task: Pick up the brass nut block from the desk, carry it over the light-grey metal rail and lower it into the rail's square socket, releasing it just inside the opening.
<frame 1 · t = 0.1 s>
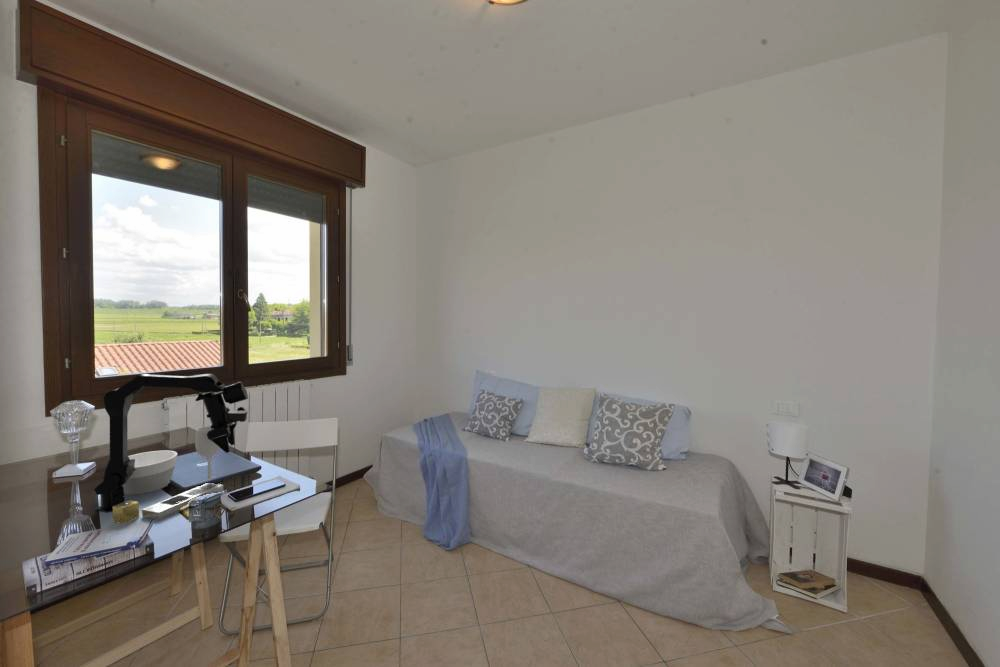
hand: (230, 448, 156), 15 cm above the table, tool pointing down, fingers open, 9 cm apart
nut block: (126, 519, 135), on the table
rail: (185, 503, 146), on the table
wineglass: (210, 482, 164), on the table
bowl: (146, 487, 160), on the table
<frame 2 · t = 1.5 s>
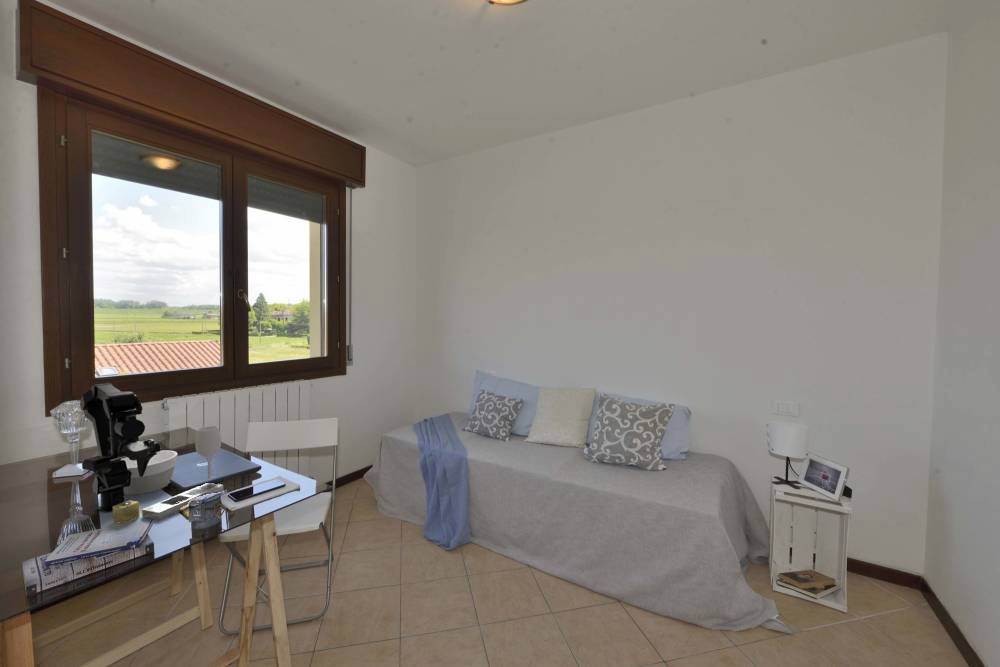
hand: (125, 482, 135), 12 cm above the table, tool pointing down, fingers open, 9 cm apart
nothing on the table moved.
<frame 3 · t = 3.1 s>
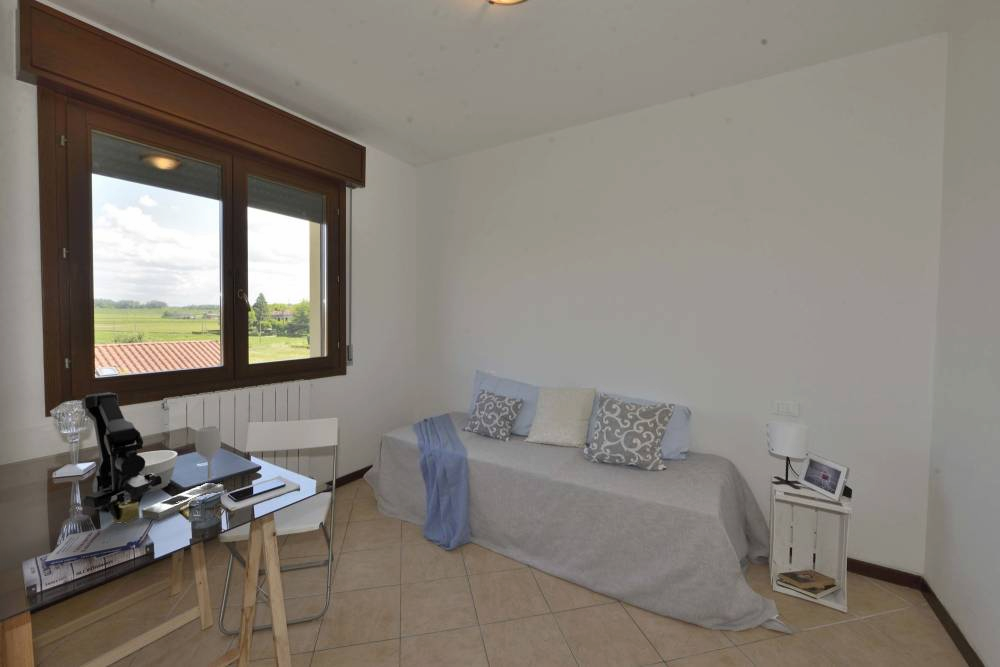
hand: (126, 516, 135), 1 cm above the table, tool pointing down, fingers closed on nut block, 4 cm apart
nut block: (126, 519, 135), on the table, touching gripper
everything else where it was.
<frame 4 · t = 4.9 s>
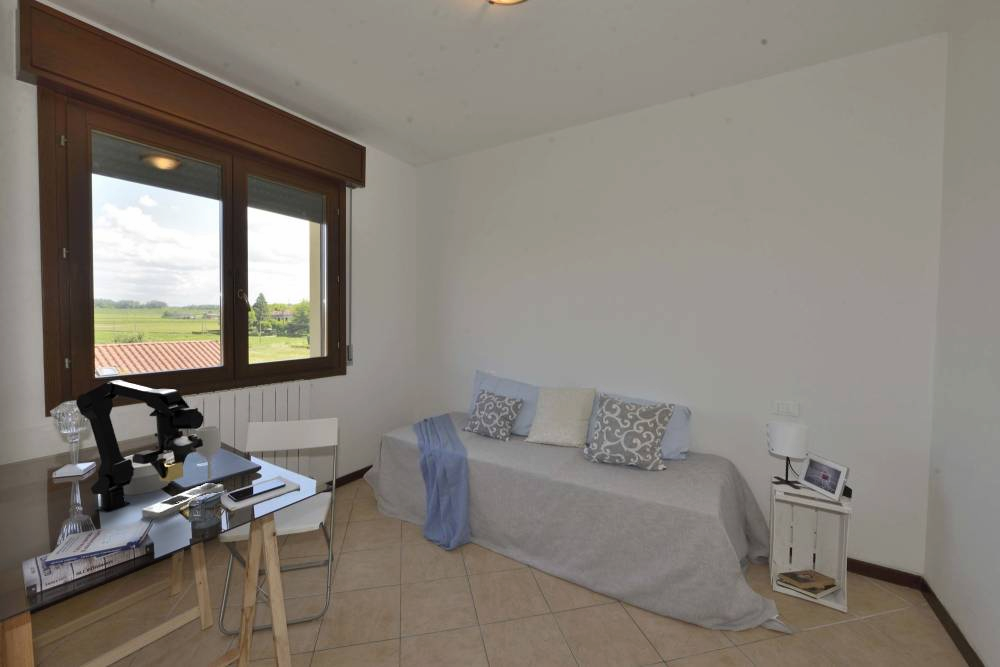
hand: (171, 475, 142), 11 cm above the table, tool pointing down, fingers closed on nut block, 4 cm apart
nut block: (171, 478, 142), point 10 cm above the table, touching gripper
everything else where it was.
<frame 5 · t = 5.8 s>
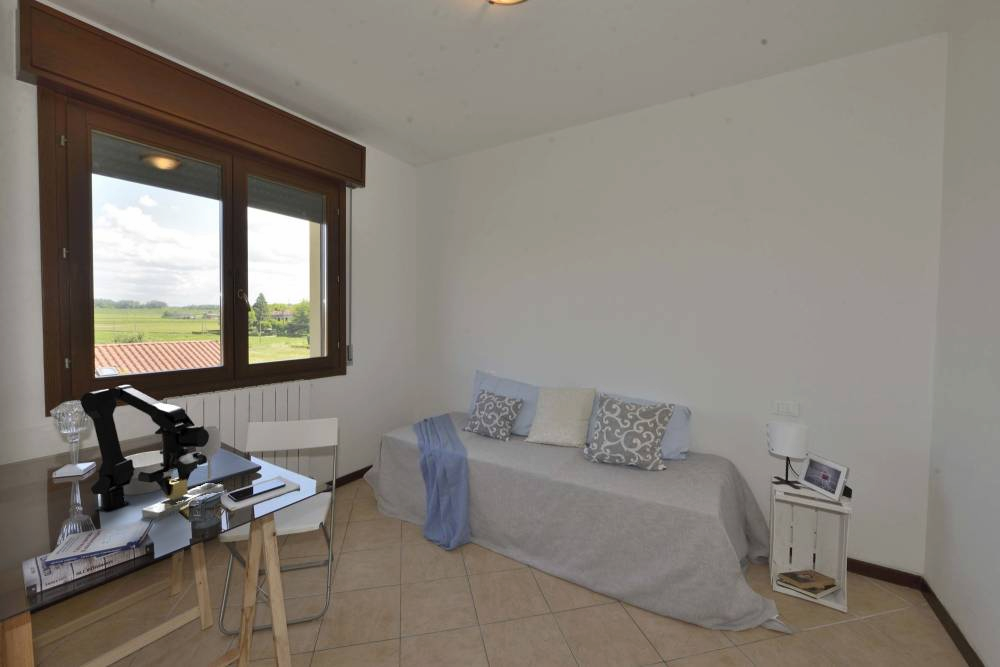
hand: (175, 492, 143), 5 cm above the table, tool pointing down, fingers closed on nut block, 4 cm apart
nut block: (176, 495, 143), point 4 cm above the table, touching gripper
everything else where it was.
when the fingers open (3 cm above the table, at t = 6.5 s): nut block drops 2 cm, resting in rail.
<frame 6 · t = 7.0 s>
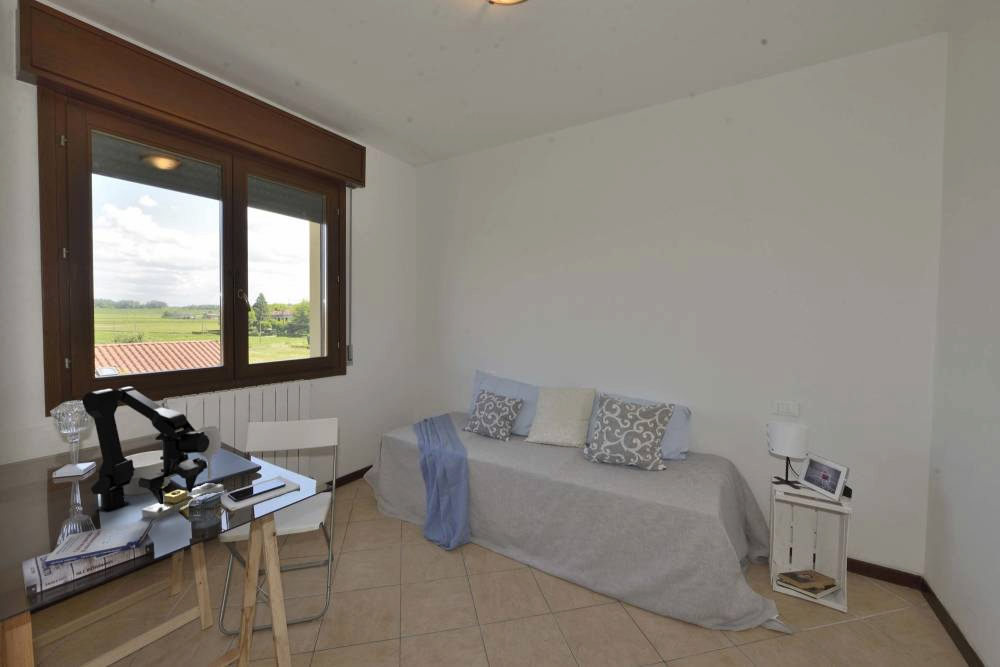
hand: (176, 498, 143), 3 cm above the table, tool pointing down, fingers open, 9 cm apart
nut block: (176, 507, 143), resting in rail
everything else where it was.
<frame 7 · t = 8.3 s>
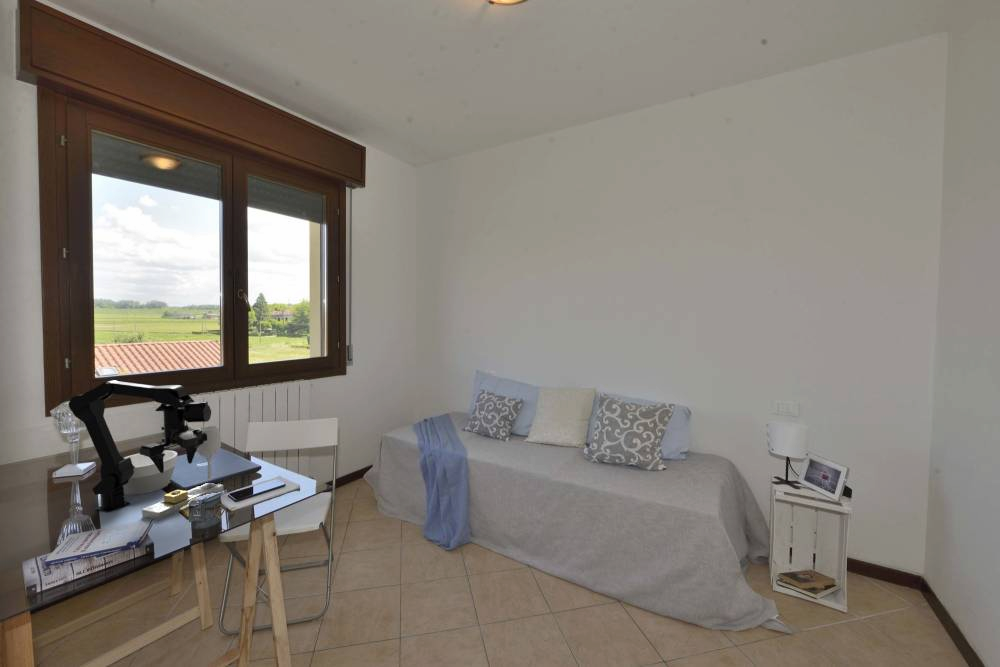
hand: (176, 467, 147), 12 cm above the table, tool pointing down, fingers open, 9 cm apart
nothing on the table moved.
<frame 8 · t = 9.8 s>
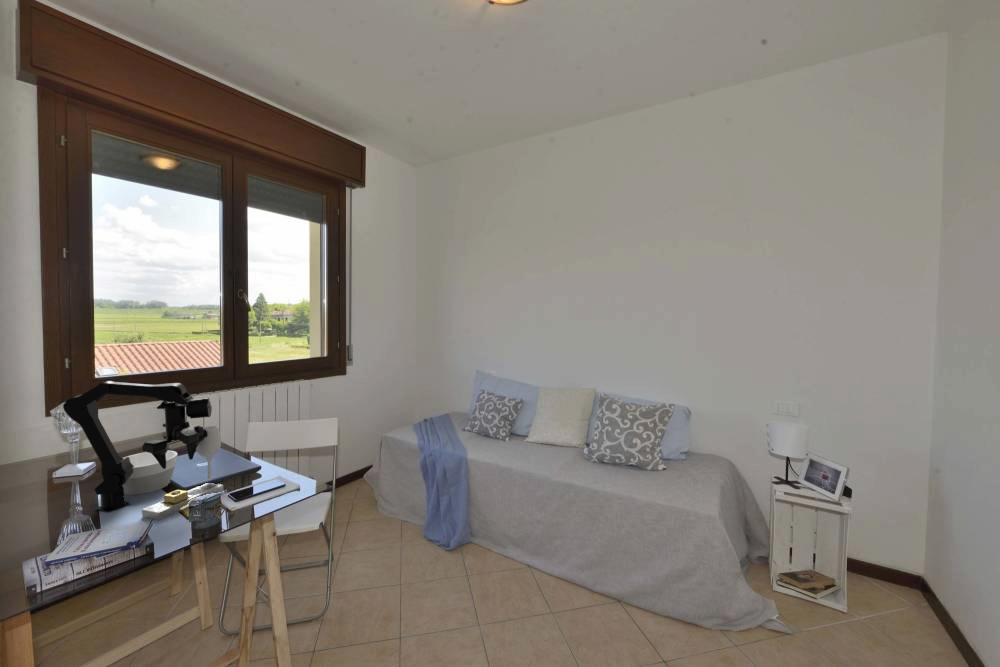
hand: (177, 463, 150), 12 cm above the table, tool pointing down, fingers open, 9 cm apart
nothing on the table moved.
at the end: nut block 0.0 cm from the target spot on the rail, point 0.0 cm above the rail's base; nut block tilted 0°; the gripper is holding nothing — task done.
